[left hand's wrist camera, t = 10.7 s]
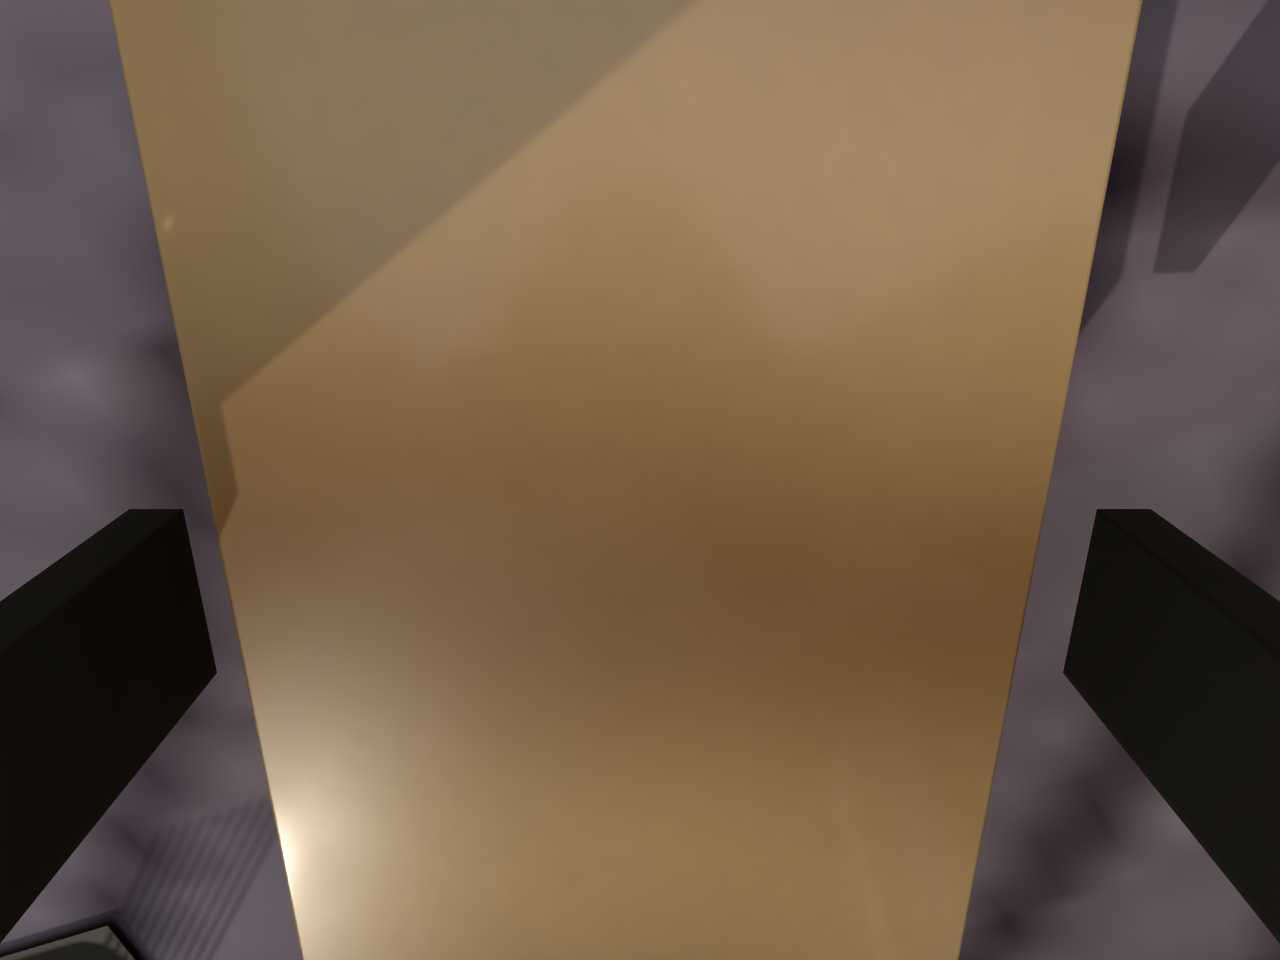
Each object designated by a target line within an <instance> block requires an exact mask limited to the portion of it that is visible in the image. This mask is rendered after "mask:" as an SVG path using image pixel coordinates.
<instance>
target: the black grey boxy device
mask: <svg viewBox="0 0 1280 960" xmlns="http://www.w3.org/2000/svg"><path fill="white" fill-rule="evenodd" d="M0 960H135V959H134V958H133V957H132V955H131V954H130V953H129V952H128V950H127V949H126V948H125V947H124V946H123V944H122V943H121V942H120V941H119V939H118V938H117V937H116V936H115V934H114V933H113V932H112V931H111V930H110V928H109V927H108V926H105V927H102V928H98V929H95V930H92V931H88V932H85V933H82V934H78V935H75V936H71V937H68V938H65V939H61V940H58V941H54V942H51V943H48V944H44V945H41V946H38V947H34V948H31V949H27V950H24V951H21V952H17V953H14V954H11V955H7V956H4V957H0Z"/></svg>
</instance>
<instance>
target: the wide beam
mask: <svg viewBox="0 0 1280 960" xmlns="http://www.w3.org/2000/svg"><path fill="white" fill-rule="evenodd" d="M1142 1H1143V0H109V3H110V8H111V12H112V17H113V22H114V27H115V32H116V37H117V42H118V47H119V52H120V57H121V62H122V67H123V72H124V77H125V82H126V87H127V92H128V97H129V102H130V107H131V112H132V117H133V121H134V126H135V131H136V136H137V141H138V146H139V151H140V156H141V161H142V166H143V171H144V176H145V181H146V186H147V191H148V196H149V201H150V206H151V211H152V216H153V221H154V225H155V230H156V235H157V240H158V245H159V250H160V255H161V260H162V265H163V270H164V275H165V280H166V285H167V290H168V295H169V300H170V305H171V310H172V315H173V320H174V325H175V330H176V334H177V339H178V344H179V349H180V354H181V359H182V364H183V369H184V374H185V379H186V384H187V389H188V394H189V399H190V404H191V409H192V414H193V419H194V424H195V429H196V434H197V438H198V443H199V448H200V453H201V458H202V463H203V468H204V473H205V478H206V483H207V488H208V493H209V498H210V503H211V508H212V513H213V518H214V523H215V528H216V533H217V538H218V543H219V547H220V552H221V557H222V562H223V567H224V572H225V577H226V582H227V587H228V592H229V597H230V602H231V607H232V612H233V617H234V622H235V627H236V632H237V637H238V642H239V647H240V651H241V656H242V661H243V666H244V671H245V676H246V681H247V686H248V691H249V696H250V701H251V706H252V711H253V716H254V721H255V726H256V731H257V736H258V741H259V746H260V751H261V756H262V760H263V765H264V770H265V775H266V780H267V785H268V790H269V795H270V800H271V805H272V810H273V815H274V820H275V825H276V830H277V835H278V840H279V845H280V850H281V855H282V860H283V865H284V869H285V874H286V879H287V884H288V889H289V894H290V899H291V904H292V909H293V914H294V919H295V924H296V929H297V934H298V939H299V944H300V949H301V954H302V959H303V960H959V955H960V949H961V944H962V939H963V934H964V928H965V923H966V918H967V913H968V908H969V902H970V897H971V892H972V887H973V882H974V876H975V871H976V866H977V861H978V856H979V850H980V845H981V840H982V835H983V829H984V824H985V819H986V814H987V809H988V803H989V798H990V793H991V788H992V783H993V777H994V772H995V767H996V762H997V757H998V751H999V746H1000V741H1001V736H1002V731H1003V725H1004V720H1005V715H1006V710H1007V704H1008V699H1009V694H1010V689H1011V684H1012V678H1013V673H1014V668H1015V663H1016V658H1017V652H1018V647H1019V642H1020V637H1021V632H1022V626H1023V621H1024V616H1025V611H1026V605H1027V600H1028V595H1029V590H1030V585H1031V579H1032V574H1033V569H1034V564H1035V559H1036V553H1037V548H1038V543H1039V538H1040V533H1041V527H1042V522H1043V517H1044V512H1045V507H1046V501H1047V496H1048V491H1049V486H1050V480H1051V475H1052V470H1053V465H1054V460H1055V454H1056V449H1057V444H1058V439H1059V434H1060V428H1061V423H1062V418H1063V413H1064V408H1065V402H1066V397H1067V392H1068V387H1069V381H1070V376H1071V371H1072V366H1073V361H1074V355H1075V350H1076V345H1077V340H1078V335H1079V329H1080V324H1081V319H1082V314H1083V309H1084V303H1085V298H1086V293H1087V288H1088V283H1089V277H1090V272H1091V267H1092V262H1093V256H1094V251H1095V246H1096V241H1097V236H1098V230H1099V225H1100V220H1101V215H1102V210H1103V204H1104V199H1105V194H1106V189H1107V184H1108V178H1109V173H1110V168H1111V163H1112V157H1113V152H1114V147H1115V142H1116V137H1117V131H1118V126H1119V121H1120V116H1121V111H1122V105H1123V100H1124V95H1125V90H1126V85H1127V79H1128V74H1129V69H1130V64H1131V59H1132V53H1133V48H1134V43H1135V38H1136V32H1137V27H1138V22H1139V17H1140V12H1141V6H1142Z"/></svg>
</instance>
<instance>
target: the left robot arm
mask: <svg viewBox="0 0 1280 960" xmlns="http://www.w3.org/2000/svg"><path fill="white" fill-rule="evenodd" d="M216 673H217V671H216V666H215V662H214V657H213V652H212V647H211V642H210V637H209V633H208V628H207V623H206V618H205V613H204V608H203V604H202V599H201V594H200V589H199V584H198V579H197V575H196V570H195V565H194V560H193V555H192V550H191V546H190V541H189V536H188V531H187V526H186V521H185V517H184V512H183V509H129V510H128V511H126V512H125V513H124V514H122V515H121V516H119V517H118V518H117V519H115V520H114V521H112V522H111V523H110V524H108V525H107V526H105V527H104V528H103V529H101V530H100V531H98V532H97V533H96V534H94V535H93V536H91V537H90V538H89V539H87V540H86V541H84V542H83V543H82V544H80V545H79V546H77V547H76V548H75V549H73V550H72V551H70V552H69V553H68V554H66V555H65V556H63V557H62V558H61V559H59V560H58V561H56V562H55V563H54V564H52V565H51V566H49V567H48V568H47V569H45V570H44V571H42V572H41V573H40V574H38V575H37V576H35V577H34V578H33V579H31V580H30V581H28V582H27V583H26V584H24V585H23V586H21V587H20V588H19V589H17V590H16V591H14V592H13V593H12V594H10V595H9V596H7V597H6V598H5V599H3V600H2V601H0V943H1V942H2V940H3V939H4V938H5V937H6V935H7V934H8V933H9V932H10V930H11V929H12V928H13V927H14V925H15V924H16V923H17V922H18V920H19V919H20V918H21V917H22V915H23V914H24V913H25V912H26V910H27V909H28V908H29V907H30V905H31V904H32V903H33V902H34V900H35V899H36V898H37V897H38V895H39V894H40V893H41V892H42V890H43V889H44V888H45V887H46V885H47V884H48V883H49V882H50V880H51V879H52V878H53V877H54V876H55V874H56V873H57V872H58V871H59V869H60V868H61V867H62V866H63V864H64V863H65V862H66V861H67V859H68V858H69V857H70V856H71V854H72V853H73V852H74V851H75V849H76V848H77V847H78V846H79V844H80V843H81V842H82V841H83V839H84V838H85V837H86V836H87V834H88V833H89V832H90V831H91V829H92V828H93V827H94V826H95V824H96V823H97V822H98V821H99V819H100V818H101V817H102V816H103V814H104V813H105V812H106V811H107V809H108V808H109V807H110V806H111V804H112V803H113V802H114V801H115V799H116V798H117V797H118V796H119V794H120V793H121V792H122V791H123V789H124V788H125V787H126V786H127V784H128V783H129V782H130V781H131V779H132V778H133V777H134V776H135V774H136V773H137V772H138V771H139V769H140V768H141V767H142V766H143V764H144V763H145V762H146V761H147V759H148V758H149V757H150V756H151V754H152V753H153V752H154V751H155V749H156V748H157V747H158V746H159V744H160V743H161V742H162V741H163V739H164V738H165V737H166V736H167V734H168V733H169V732H170V731H171V729H172V728H173V727H174V726H175V724H176V723H177V722H178V721H179V719H180V718H181V717H182V716H183V714H184V713H185V712H186V711H187V709H188V708H189V707H190V706H191V704H192V703H193V702H194V701H195V699H196V698H197V697H198V696H199V694H200V693H201V692H202V691H203V689H204V688H205V687H206V686H207V685H208V683H209V682H210V681H211V680H212V678H213V677H214V676H215V675H216ZM1063 673H1064V675H1065V676H1066V677H1067V678H1068V680H1069V681H1070V682H1071V683H1072V685H1073V686H1074V687H1075V688H1076V689H1077V691H1078V692H1079V693H1080V694H1081V696H1082V697H1083V698H1084V699H1085V701H1086V702H1087V703H1088V704H1089V706H1090V707H1091V708H1092V709H1093V711H1094V712H1095V713H1096V714H1097V716H1098V717H1099V718H1100V719H1101V721H1102V722H1103V723H1104V724H1105V726H1106V727H1107V728H1108V729H1109V731H1110V732H1111V733H1112V734H1113V736H1114V737H1115V738H1116V739H1117V741H1118V742H1119V743H1120V744H1121V746H1122V747H1123V748H1124V749H1125V751H1126V752H1127V753H1128V754H1129V756H1130V757H1131V758H1132V759H1133V761H1134V762H1135V763H1136V764H1137V766H1138V767H1139V768H1140V769H1141V771H1142V772H1143V773H1144V774H1145V776H1146V777H1147V778H1148V779H1149V781H1150V782H1151V783H1152V784H1153V786H1154V787H1155V788H1156V789H1157V791H1158V792H1159V793H1160V794H1161V796H1162V797H1163V798H1164V799H1165V801H1166V802H1167V803H1168V804H1169V806H1170V807H1171V808H1172V809H1173V811H1174V812H1175V813H1176V814H1177V816H1178V817H1179V818H1180V819H1181V821H1182V822H1183V823H1184V824H1185V826H1186V827H1187V828H1188V829H1189V831H1190V832H1191V833H1192V834H1193V836H1194V837H1195V838H1196V839H1197V841H1198V842H1199V843H1200V844H1201V846H1202V847H1203V848H1204V849H1205V851H1206V852H1207V853H1208V854H1209V856H1210V857H1211V858H1212V859H1213V861H1214V862H1215V863H1216V864H1217V866H1218V867H1219V868H1220V869H1221V871H1222V872H1223V873H1224V874H1225V876H1226V877H1227V878H1228V879H1229V881H1230V882H1231V883H1232V884H1233V885H1234V887H1235V888H1236V889H1237V890H1238V892H1239V893H1240V894H1241V895H1242V897H1243V898H1244V899H1245V900H1246V902H1247V903H1248V904H1249V905H1250V907H1251V908H1252V909H1253V910H1254V912H1255V913H1256V914H1257V915H1258V917H1259V918H1260V919H1261V920H1262V922H1263V923H1264V924H1265V925H1266V927H1267V928H1268V929H1269V930H1270V932H1271V933H1272V934H1273V935H1274V937H1275V938H1276V939H1277V940H1278V942H1279V943H1280V601H1278V600H1277V599H1275V598H1274V597H1273V596H1271V595H1270V594H1268V593H1267V592H1266V591H1264V590H1263V589H1261V588H1260V587H1259V586H1257V585H1256V584H1254V583H1253V582H1252V581H1250V580H1249V579H1247V578H1246V577H1245V576H1243V575H1242V574H1240V573H1239V572H1238V571H1236V570H1235V569H1233V568H1232V567H1231V566H1229V565H1228V564H1226V563H1225V562H1224V561H1222V560H1221V559H1219V558H1218V557H1217V556H1215V555H1214V554H1212V553H1211V552H1210V551H1208V550H1207V549H1205V548H1204V547H1203V546H1201V545H1200V544H1198V543H1197V542H1196V541H1194V540H1193V539H1191V538H1190V537H1189V536H1187V535H1186V534H1184V533H1183V532H1182V531H1180V530H1179V529H1177V528H1176V527H1175V526H1173V525H1172V524H1170V523H1169V522H1168V521H1166V520H1165V519H1163V518H1162V517H1161V516H1159V515H1158V514H1156V513H1155V512H1154V511H1152V510H1151V509H1097V512H1096V517H1095V521H1094V526H1093V531H1092V536H1091V541H1090V546H1089V550H1088V555H1087V560H1086V565H1085V570H1084V575H1083V579H1082V584H1081V589H1080V594H1079V599H1078V604H1077V608H1076V613H1075V618H1074V623H1073V628H1072V633H1071V637H1070V642H1069V647H1068V652H1067V657H1066V662H1065V666H1064V671H1063Z"/></svg>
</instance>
